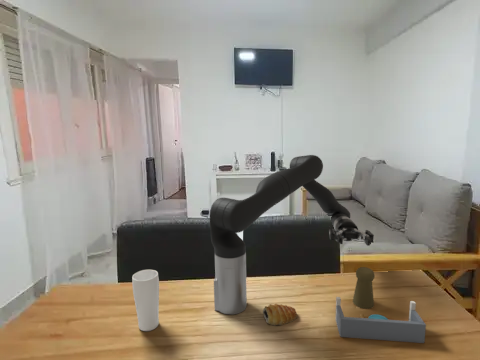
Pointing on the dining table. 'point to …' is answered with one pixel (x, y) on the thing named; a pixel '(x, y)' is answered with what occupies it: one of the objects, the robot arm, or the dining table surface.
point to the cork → (364, 288)
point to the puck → (377, 317)
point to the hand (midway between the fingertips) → (355, 242)
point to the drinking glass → (146, 298)
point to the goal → (381, 327)
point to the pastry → (279, 314)
